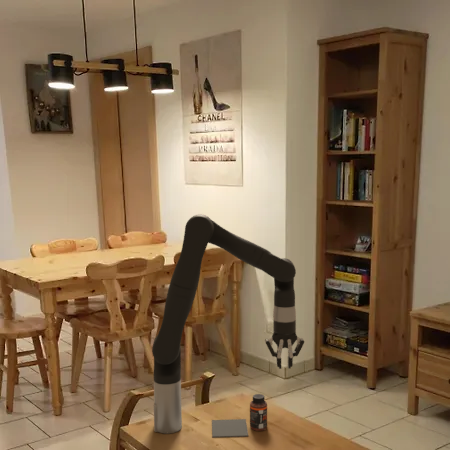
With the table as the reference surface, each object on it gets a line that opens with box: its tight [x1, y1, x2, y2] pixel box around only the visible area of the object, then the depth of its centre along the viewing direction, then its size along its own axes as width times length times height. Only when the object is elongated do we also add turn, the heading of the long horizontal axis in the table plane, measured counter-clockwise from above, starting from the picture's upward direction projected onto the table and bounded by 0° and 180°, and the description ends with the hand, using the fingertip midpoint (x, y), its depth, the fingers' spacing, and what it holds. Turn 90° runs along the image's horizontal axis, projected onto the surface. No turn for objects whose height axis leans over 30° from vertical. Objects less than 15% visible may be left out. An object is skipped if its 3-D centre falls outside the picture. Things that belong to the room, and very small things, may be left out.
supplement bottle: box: [249, 393, 268, 432], centre depth 192 cm, size 6×6×11 cm
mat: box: [211, 418, 249, 439], centre depth 192 cm, size 12×12×1 cm
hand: (284, 367), depth 191 cm, fingers closed
